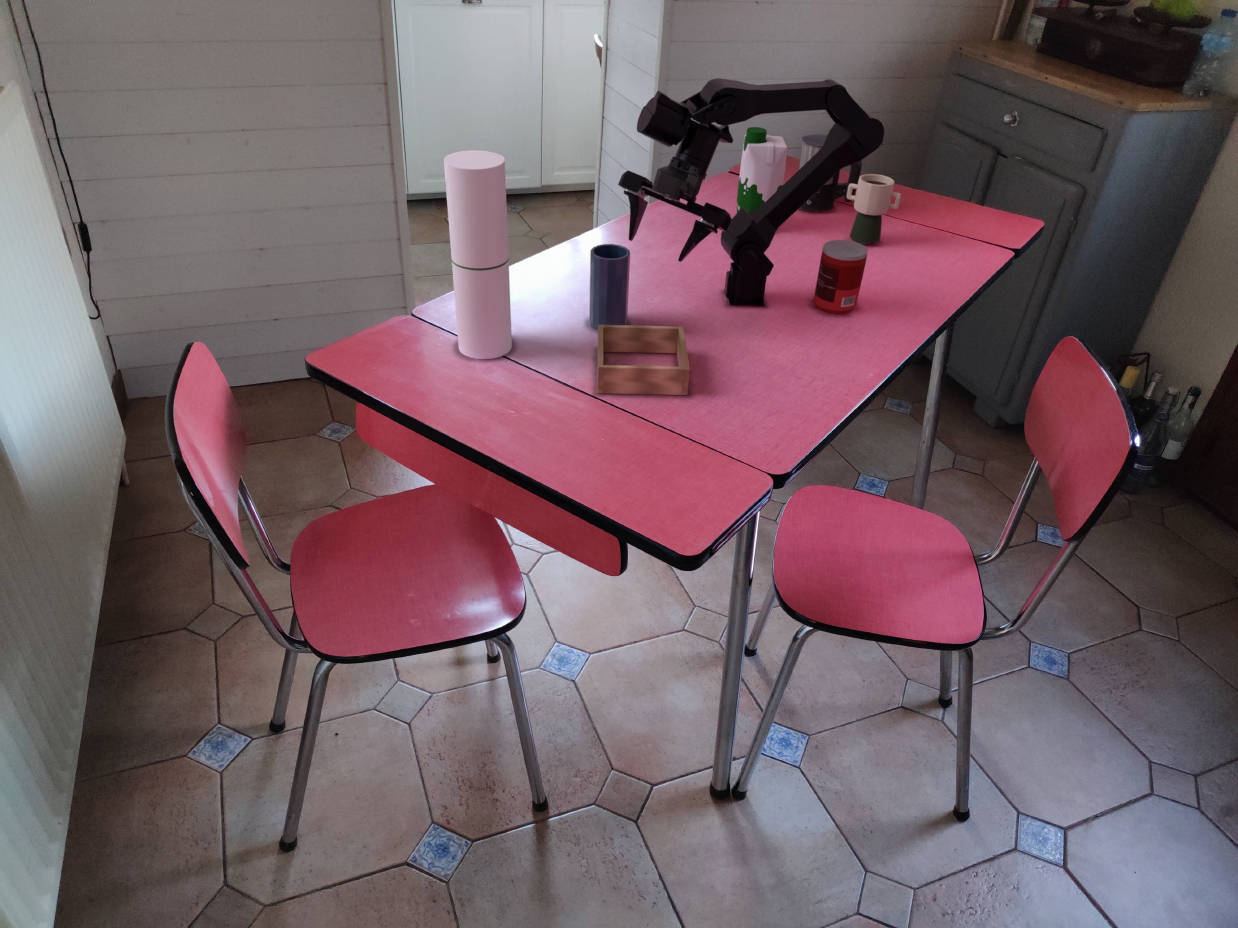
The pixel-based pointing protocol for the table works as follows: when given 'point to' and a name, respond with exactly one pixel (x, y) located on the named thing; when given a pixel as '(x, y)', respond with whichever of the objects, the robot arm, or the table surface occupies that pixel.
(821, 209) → the milk frother
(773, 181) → the milk carton
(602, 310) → the tumbler
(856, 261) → the canned food
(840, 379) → the table surface
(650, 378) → the crate
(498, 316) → the container
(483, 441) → the table surface
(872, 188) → the character mug
